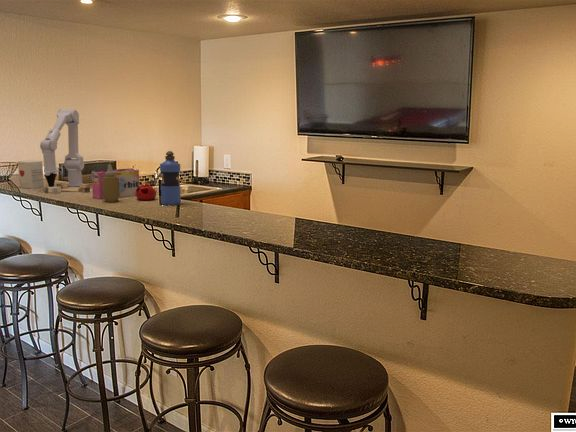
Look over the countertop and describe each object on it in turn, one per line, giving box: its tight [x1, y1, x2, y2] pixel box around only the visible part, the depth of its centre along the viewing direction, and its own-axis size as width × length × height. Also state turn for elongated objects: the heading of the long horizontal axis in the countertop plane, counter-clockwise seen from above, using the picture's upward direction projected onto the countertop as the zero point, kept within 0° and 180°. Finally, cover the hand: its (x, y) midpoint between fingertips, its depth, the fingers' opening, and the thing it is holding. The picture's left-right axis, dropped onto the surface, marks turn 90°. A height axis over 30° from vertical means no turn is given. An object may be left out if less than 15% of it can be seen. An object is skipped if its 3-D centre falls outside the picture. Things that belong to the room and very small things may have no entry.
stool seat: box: [56, 182, 92, 194], centre depth 269 cm, size 20×20×3 cm
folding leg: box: [45, 186, 62, 194], centre depth 261 cm, size 8×3×3 cm, turn 123°
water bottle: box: [159, 150, 182, 206], centre depth 232 cm, size 9×9×25 cm
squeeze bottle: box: [102, 163, 120, 203], centre depth 235 cm, size 8×8×18 cm
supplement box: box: [17, 159, 45, 190], centre depth 275 cm, size 9×9×15 cm
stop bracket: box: [51, 188, 61, 195], centre depth 257 cm, size 2×4×3 cm, turn 59°
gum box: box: [91, 168, 141, 200], centre depth 252 cm, size 24×8×14 cm, turn 138°
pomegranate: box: [135, 181, 157, 201], centre depth 244 cm, size 10×10×9 cm
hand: (51, 187), depth 266 cm, fingers closed
